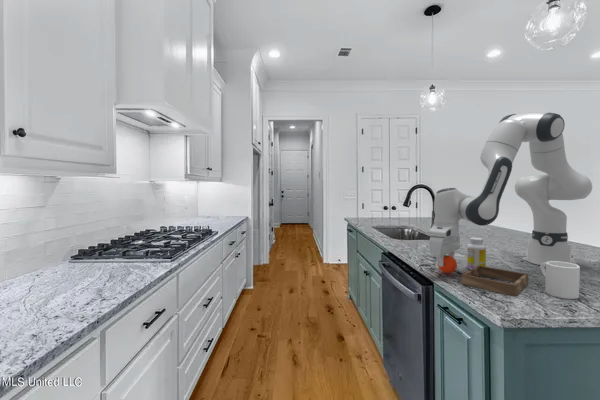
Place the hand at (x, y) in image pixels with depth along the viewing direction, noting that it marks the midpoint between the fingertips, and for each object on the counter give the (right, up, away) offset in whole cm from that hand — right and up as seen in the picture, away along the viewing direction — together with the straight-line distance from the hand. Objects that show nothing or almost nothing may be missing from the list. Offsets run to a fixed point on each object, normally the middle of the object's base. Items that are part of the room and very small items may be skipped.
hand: (445, 263), depth 119 cm
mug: (+26, -5, -21) cm, 34 cm away
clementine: (0, -4, 0) cm, 4 cm away
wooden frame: (+11, -5, -12) cm, 17 cm away
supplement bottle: (+16, -4, +6) cm, 17 cm away
